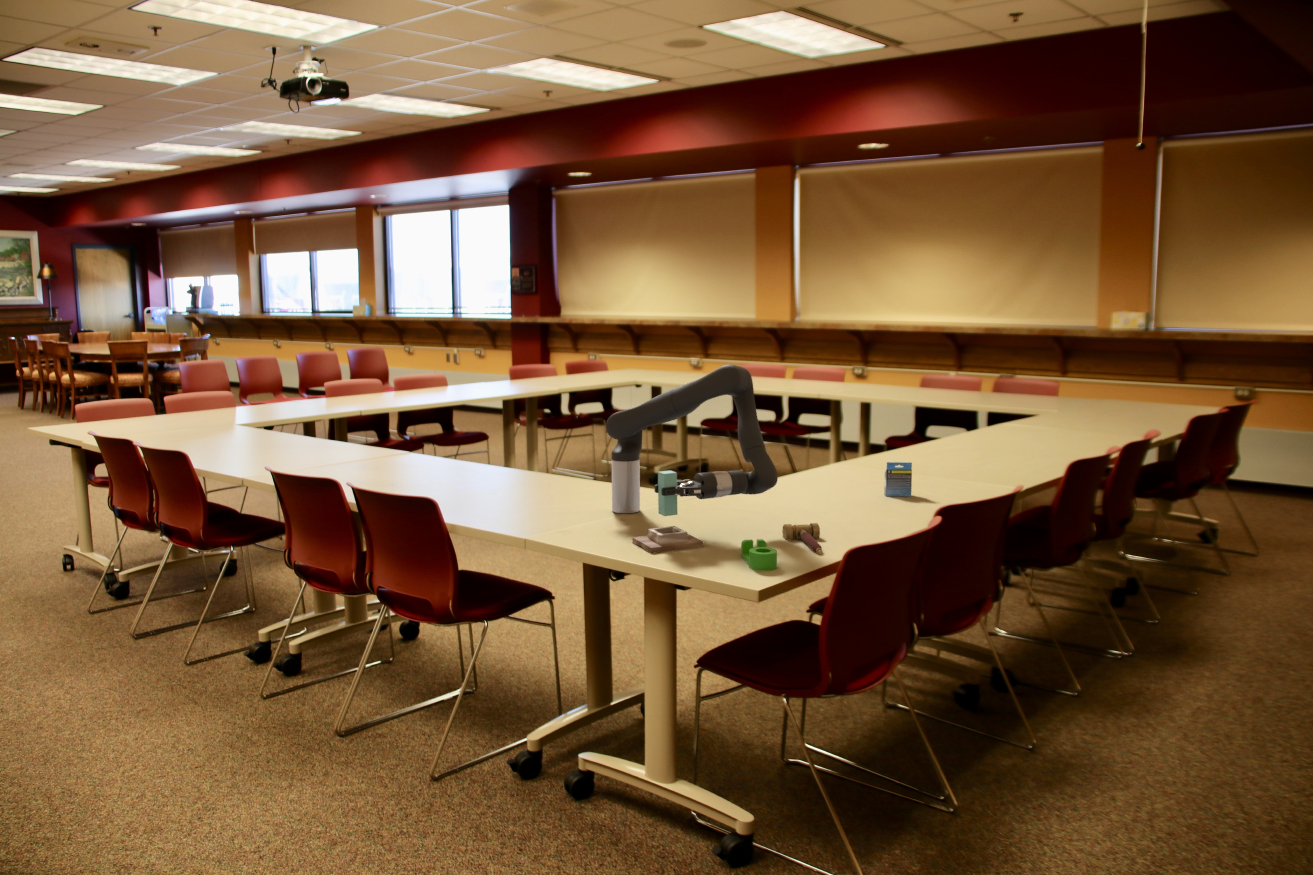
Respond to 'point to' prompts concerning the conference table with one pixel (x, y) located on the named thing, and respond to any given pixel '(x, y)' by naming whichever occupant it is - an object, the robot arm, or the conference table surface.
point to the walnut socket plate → (667, 540)
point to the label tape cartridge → (898, 479)
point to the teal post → (668, 503)
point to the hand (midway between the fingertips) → (658, 490)
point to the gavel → (804, 534)
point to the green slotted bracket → (759, 555)
